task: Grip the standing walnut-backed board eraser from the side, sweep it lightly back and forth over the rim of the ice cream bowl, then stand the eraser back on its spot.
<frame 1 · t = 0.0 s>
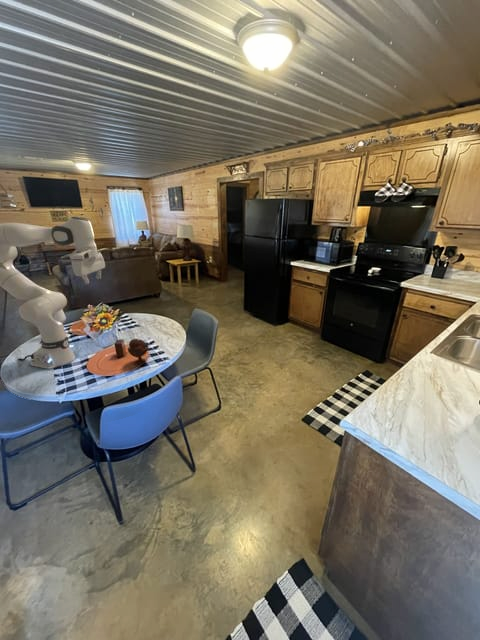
hand: (93, 280, 132), 48 cm above the table, tool pointing down, fingers open, 8 cm apart
ice cream bowl: (140, 362, 151), on the table
eraser: (121, 354, 158), on the table
champagne flute: (65, 336, 182), on the table
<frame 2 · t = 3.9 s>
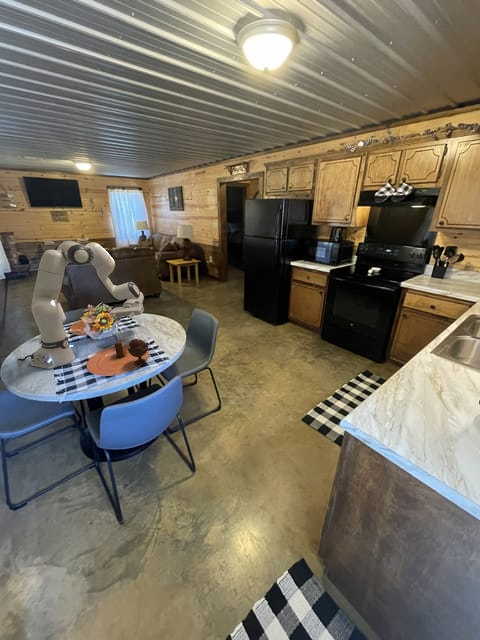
hand: (121, 318, 159), 21 cm above the table, tool horizontal, fingers open, 8 cm apart
nothing on the table moved.
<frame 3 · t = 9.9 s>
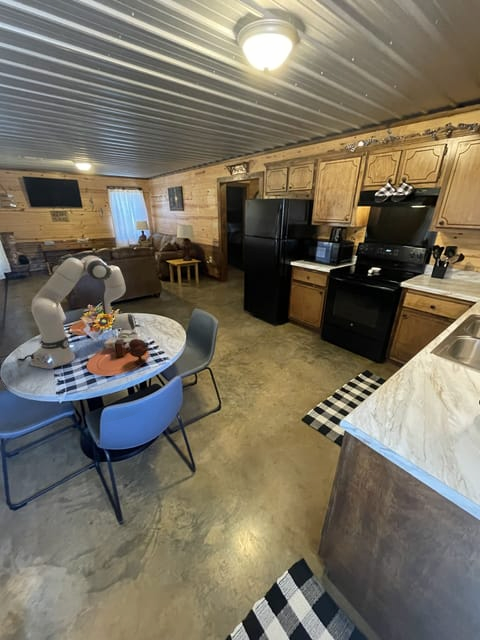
hand: (119, 348, 156), 5 cm above the table, tool horizontal, fingers closed on eraser, 4 cm apart
eraser: (121, 354, 158), on the table, touching gripper
everything else where it was.
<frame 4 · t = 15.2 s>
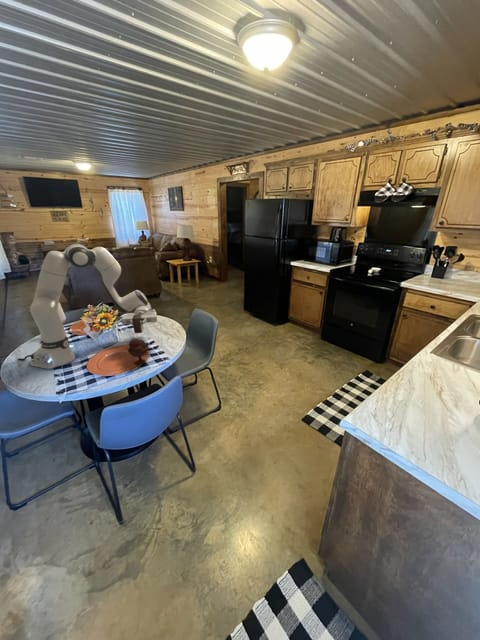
hand: (137, 323, 150), 21 cm above the table, tool horizontal, fingers closed on eraser, 4 cm apart
eraser: (139, 331, 152), point 16 cm above the table, touching gripper
everything else where it was.
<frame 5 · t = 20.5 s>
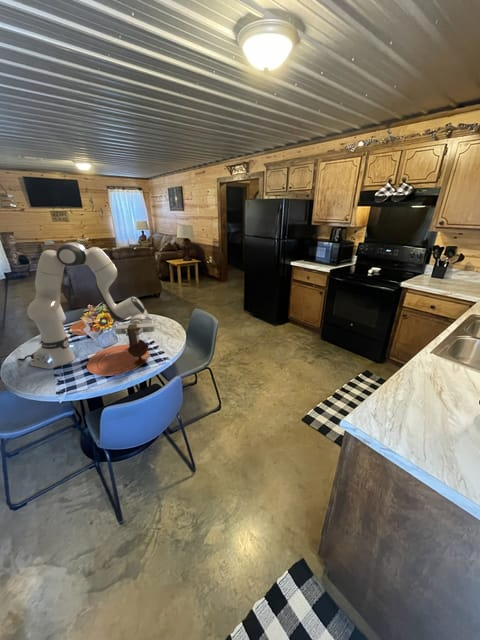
hand: (132, 334, 137), 21 cm above the table, tool horizontal, fingers closed on eraser, 4 cm apart
eraser: (134, 341, 140), point 16 cm above the table, touching gripper
everything else where it was.
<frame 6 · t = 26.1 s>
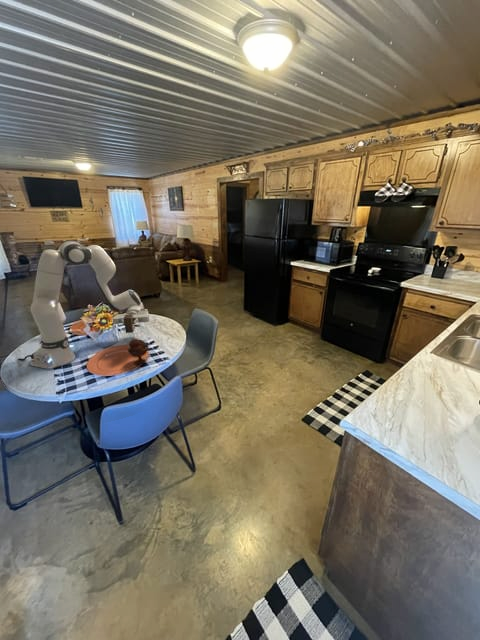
hand: (128, 323, 150), 21 cm above the table, tool horizontal, fingers closed on eraser, 4 cm apart
eraser: (130, 330, 152), point 16 cm above the table, touching gripper
everything else where it was.
when the fingers open (5 cm above the table, at t = 31.2 s): eraser stays where it is, on the table.
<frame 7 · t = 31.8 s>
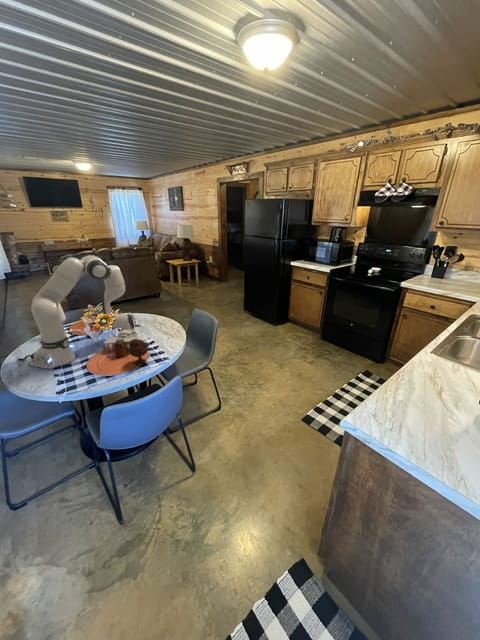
hand: (119, 347, 156), 5 cm above the table, tool horizontal, fingers open, 8 cm apart
eraser: (121, 354, 158), on the table
everything else where it was.
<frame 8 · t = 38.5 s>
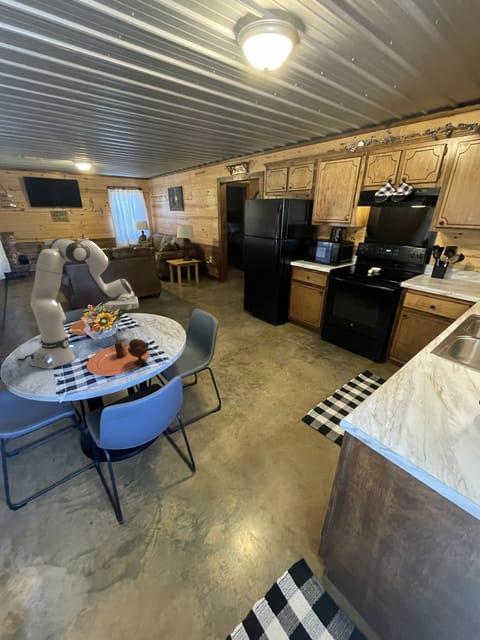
hand: (119, 309, 160), 25 cm above the table, tool horizontal, fingers open, 8 cm apart
nothing on the table moved.
at the end: eraser inside the target area (0.1 cm from its centre), on the table; eraser tilted 0°; ice cream bowl moved 0.2 cm from its start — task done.
